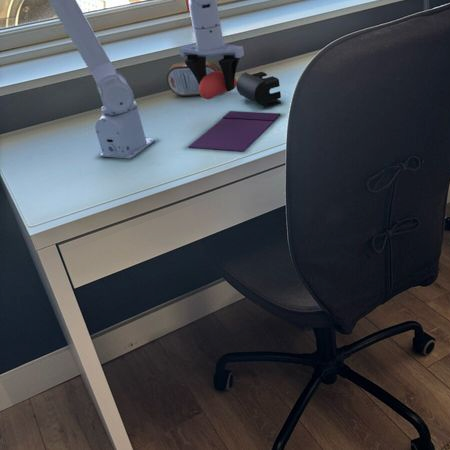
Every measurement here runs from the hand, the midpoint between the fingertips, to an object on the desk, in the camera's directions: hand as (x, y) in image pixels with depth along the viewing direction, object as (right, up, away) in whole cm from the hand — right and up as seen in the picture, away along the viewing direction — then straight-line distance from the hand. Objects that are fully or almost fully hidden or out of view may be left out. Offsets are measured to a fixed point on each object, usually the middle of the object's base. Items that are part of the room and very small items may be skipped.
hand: (217, 89), depth 124 cm
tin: (-9, +4, +25) cm, 27 cm away
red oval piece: (0, -1, +1) cm, 1 cm away
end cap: (+8, 0, +15) cm, 17 cm away
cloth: (+4, -9, +1) cm, 10 cm away
